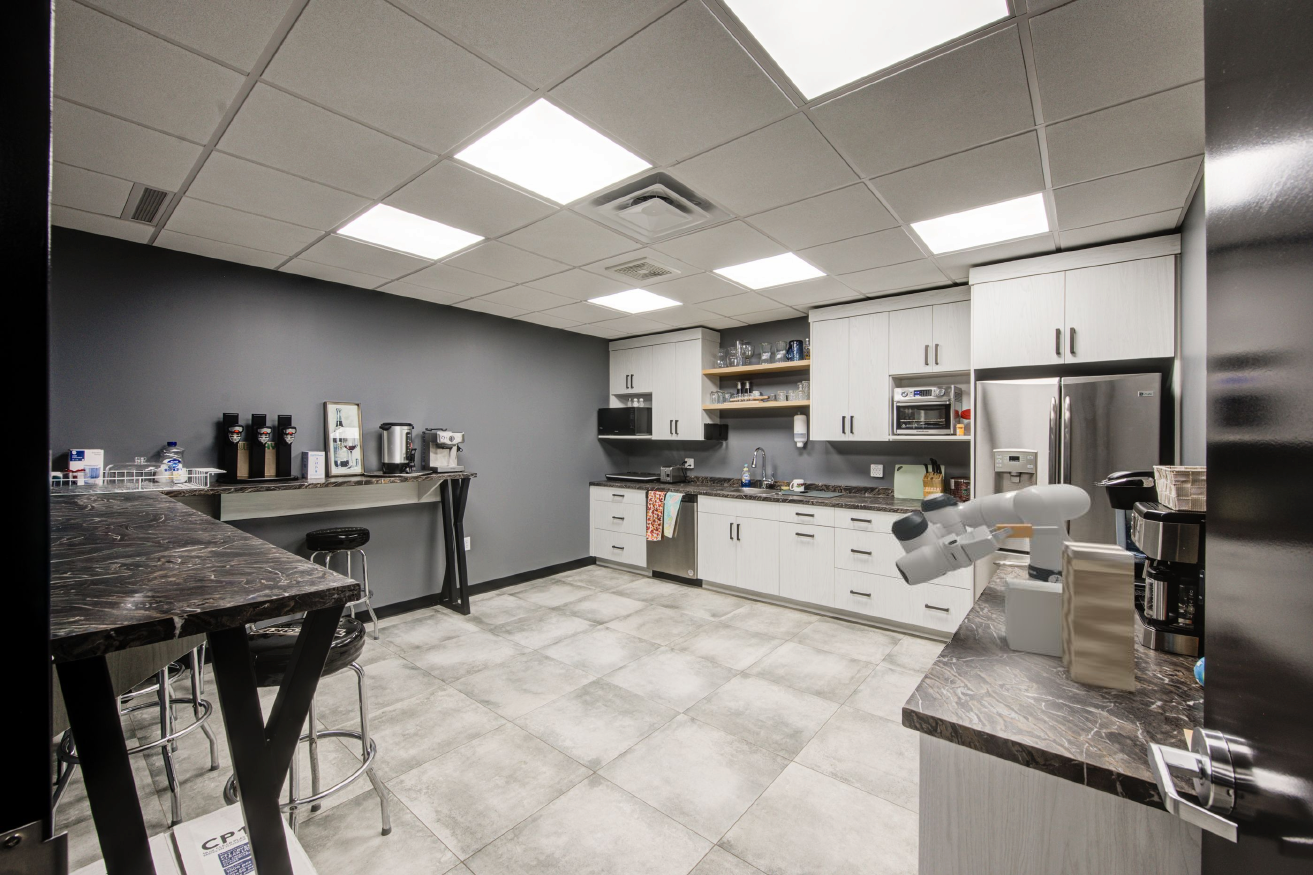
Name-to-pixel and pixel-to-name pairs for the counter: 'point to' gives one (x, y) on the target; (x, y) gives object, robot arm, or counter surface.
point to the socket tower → (1098, 614)
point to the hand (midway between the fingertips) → (1010, 528)
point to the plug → (1028, 530)
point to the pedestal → (1033, 616)
